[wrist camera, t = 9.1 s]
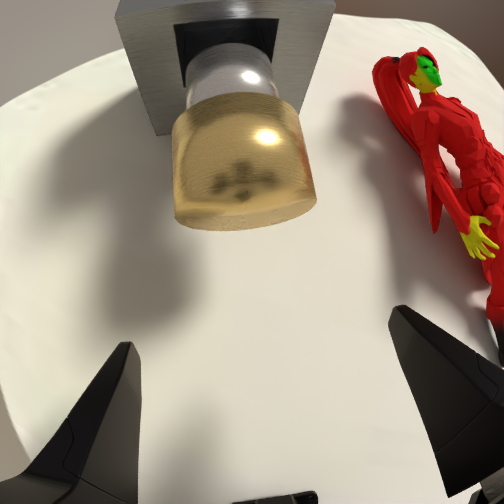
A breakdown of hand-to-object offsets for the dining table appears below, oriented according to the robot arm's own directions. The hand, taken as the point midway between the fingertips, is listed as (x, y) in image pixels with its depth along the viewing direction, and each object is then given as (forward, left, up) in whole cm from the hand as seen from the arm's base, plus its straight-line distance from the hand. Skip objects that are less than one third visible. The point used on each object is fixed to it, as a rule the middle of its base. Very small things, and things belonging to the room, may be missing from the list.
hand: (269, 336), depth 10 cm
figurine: (+6, -20, -11) cm, 23 cm away
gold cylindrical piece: (+9, 0, -5) cm, 11 cm away
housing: (+18, 0, -10) cm, 21 cm away
